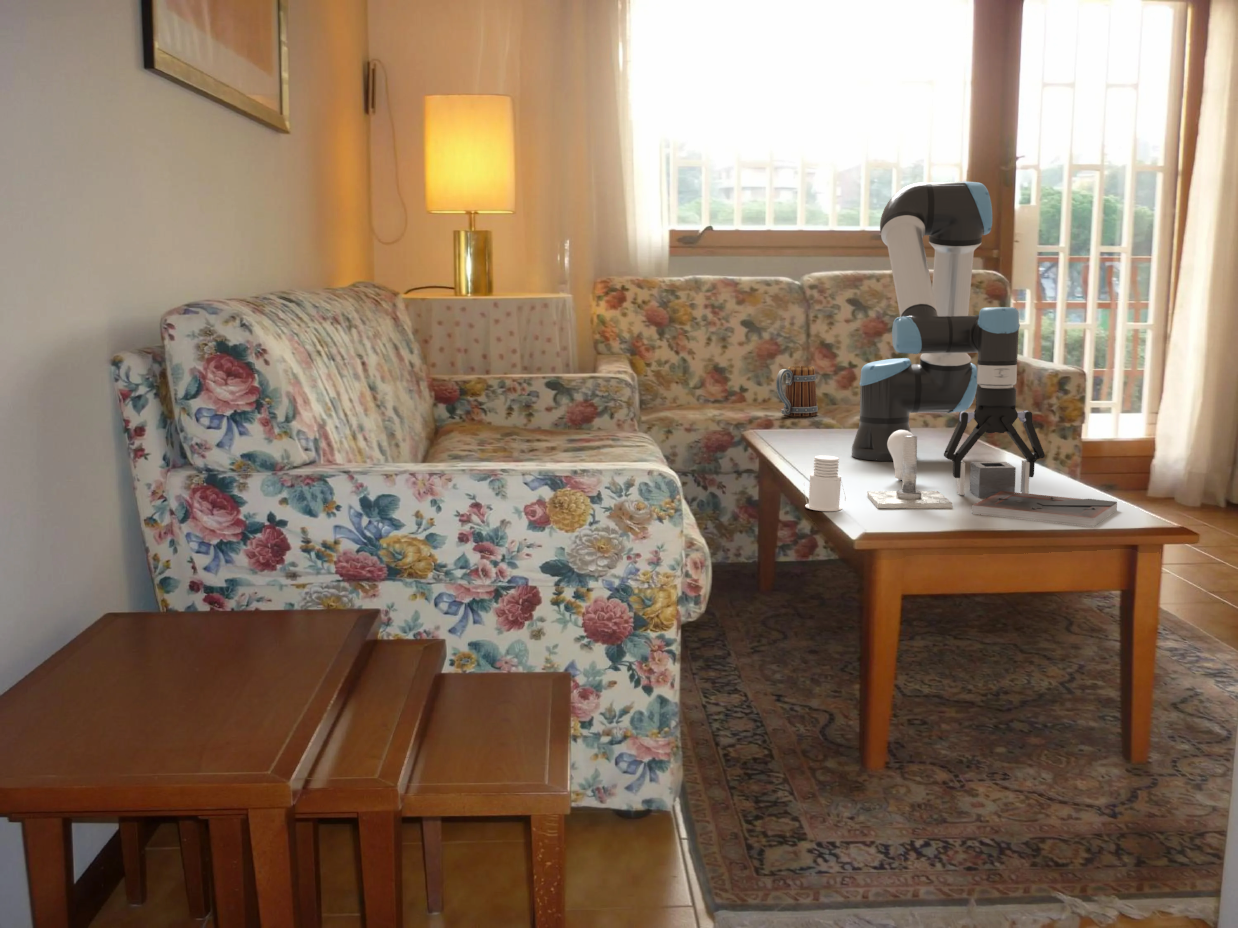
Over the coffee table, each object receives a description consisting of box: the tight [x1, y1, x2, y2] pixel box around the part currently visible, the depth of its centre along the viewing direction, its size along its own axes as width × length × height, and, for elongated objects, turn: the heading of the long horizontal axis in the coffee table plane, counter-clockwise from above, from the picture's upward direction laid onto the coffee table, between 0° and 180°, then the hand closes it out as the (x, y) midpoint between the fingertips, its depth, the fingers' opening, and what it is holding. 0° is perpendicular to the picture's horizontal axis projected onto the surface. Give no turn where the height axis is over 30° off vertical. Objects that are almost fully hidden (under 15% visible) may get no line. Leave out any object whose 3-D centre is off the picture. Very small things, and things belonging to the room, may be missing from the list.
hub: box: [969, 461, 1017, 499], centre depth 233 cm, size 7×7×6 cm
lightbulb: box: [887, 430, 915, 481], centre depth 249 cm, size 6×6×11 cm
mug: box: [775, 365, 819, 418], centre depth 358 cm, size 16×11×15 cm
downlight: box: [803, 455, 847, 512], centre depth 222 cm, size 8×7×10 cm
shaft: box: [866, 434, 953, 509], centre depth 226 cm, size 12×14×13 cm
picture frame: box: [971, 491, 1118, 528], centre depth 216 cm, size 16×2×22 cm
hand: (992, 493), depth 233 cm, fingers open, 12 cm apart
